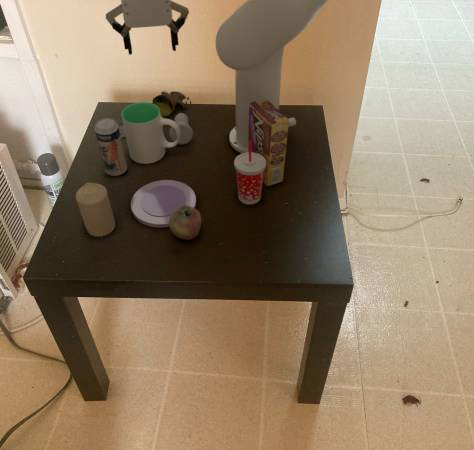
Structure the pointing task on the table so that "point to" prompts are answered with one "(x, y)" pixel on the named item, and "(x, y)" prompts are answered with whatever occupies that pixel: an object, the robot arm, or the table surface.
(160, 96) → the toy
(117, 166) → the canister with white lid
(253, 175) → the beverage cup
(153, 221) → the dish
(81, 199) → the candle
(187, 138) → the chess piece
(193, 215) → the apple
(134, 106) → the mug
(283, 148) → the candy box
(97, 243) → the table surface
